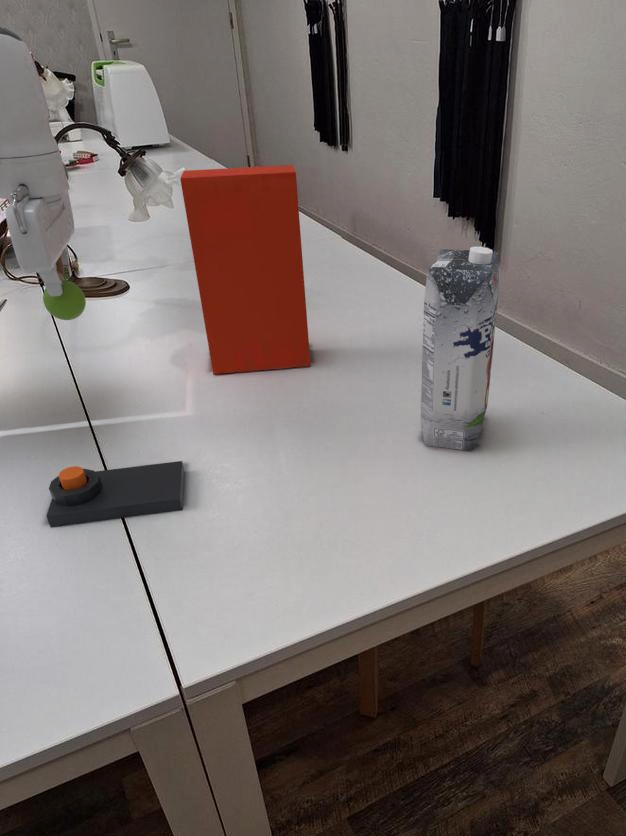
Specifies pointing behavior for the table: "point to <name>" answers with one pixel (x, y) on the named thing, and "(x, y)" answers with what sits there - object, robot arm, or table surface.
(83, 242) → the table surface
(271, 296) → the file binder
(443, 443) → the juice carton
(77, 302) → the snail figurine
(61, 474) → the button
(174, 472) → the orange push button base
